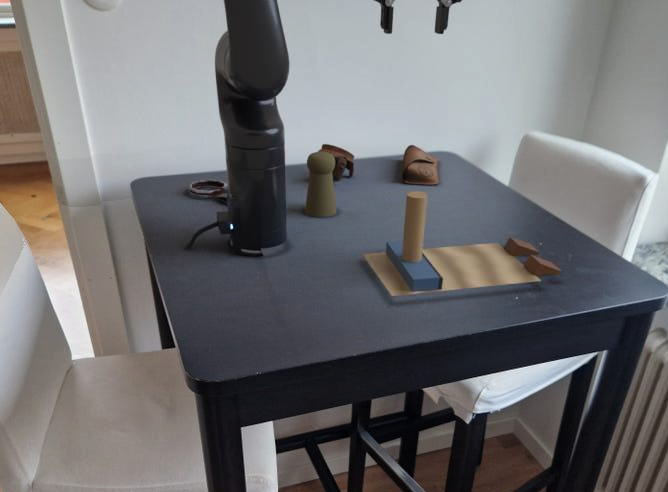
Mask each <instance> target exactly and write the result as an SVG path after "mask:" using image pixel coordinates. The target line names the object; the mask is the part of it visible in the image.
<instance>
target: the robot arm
mask: <svg viewBox="0 0 668 492" xmlns="http://www.w3.org/2000/svg"><path fill="white" fill-rule="evenodd" d="M373 1H374V2H376V3H379V5H380V22H379V25H380V29H382V30H383V33H384V34H386V35H392V34H393V26H394V25H393V24H394V10H395V9H394V8H395V7H394V6H393V5H394V3H395V1H396V0H373ZM436 1H437V3H438V6H437V5H436V10H435V20H434V21H435V22H434V33H435V34H438V35H443V34H444V32H445V31H446V30H447V29H448V25H449V15H450V8H451V6H452V5H455V4H457V3H461V2H462V1H463V0H436ZM223 4H224V12H225V19H226V31H225V32H223V34H222V35H221V36H220V38H219V40H218V41H217V44H216V48H215V53H214V73H215V84H216V85H215V86H216V95H217V96H216V97H217V104H218V105H217V106H218V113H219V114H218V115H219V120H220V123H221V126H222V130H223V137H224V139H223V140H224V150H225V151H224V152H225V166H226V167H225V168H226V179H227V180H226V181H227V182H226V184H227V187H226V192H227V206H226V207H227V210H226V211H225V210H224V211H216V221H215V222H212V223H211V224H207V225H205V226H203V227H202V228H200V229H198V230H197V231H196V232H195V233H194V234H193V235H192V237H191V239H190V240H189V242H188V243H186V249H190V248H191V247H193V246H194V244H195V242H196V240H197V238H198V237H199V236H200V235H202V234H204V233H205V232H207V231H210V230H211V229H215V228H217V229H218V232H219V235H221V236H223V235H228V236H229V242H230V247H231V249H232V252H233V254H234V255H246V256H252V257H264V253H263V251H262V249H271V248H275V247H278V246H280V245H283V244H284V243H286V241H287V239H288V231H287V229H288V227H287V190H286V189H287V188H286V187H287V186H286V183H287V182H286V181H287V180H286V149H285V148H286V143H285V142H286V138H285V131H286V130H285V124H284V122H283V120H282V117H281V115H280V112H279V109H278V103H277V96H279V95H280V94H281V92H282V91H283V90H284V88H285V86H286V84H287V82H288V80H289V75H290V67H291V66H290V62H291V61H290V55H289V51H288V50H289V49H288V45H287V41H286V40H287V39H286V36H285V30H284V27H283V23H282V17H281V13H280V8H279V4H278V0H223Z"/></svg>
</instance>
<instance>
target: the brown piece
mask: <svg viewBox="0 0 668 492" xmlns="http://www.w3.org/2000/svg"><path fill="white" fill-rule="evenodd" d="M317 152H327V153H330V154H332V155H333V157H334V158H335V167H334V170H333V171H332V176H333V183H335V182H341V180H342V178H343V175H344V172H345V170H348V177H349V178H351V177H353V176H354V173H355V166H354V165H355V163H354V159H355V155H354V154H353V153H351V152H350V151H348V150H346V149H344V148H342V147H340V146H336V145H333V144H328V143H323V144H321V148H320V149H318V150H317ZM309 175H310V171H309V170H308V176H309Z"/></svg>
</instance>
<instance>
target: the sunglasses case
mask: <svg viewBox="0 0 668 492" xmlns="http://www.w3.org/2000/svg"><path fill="white" fill-rule="evenodd" d="M402 159H403V160H402V167H401V179H402V180H403V182H404V184H407V185H408V184H410V185H415V186H435V185H439V184H440V178H439V170H438V169H439V162H440V159H439V158H437V157H436V156H433V155H431V154H429V153H427V152H426V151H425V150H424V149H422V148H420V147H418V146H416V145H414V144H410V145H408V146H407V147H406V148H405V150H404V153H403V158H402Z"/></svg>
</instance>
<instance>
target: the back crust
mask: <svg viewBox="0 0 668 492" xmlns="http://www.w3.org/2000/svg"><path fill="white" fill-rule="evenodd" d="M503 248H504V249H505V250H506V251H508V252H509V253H510V254H511V255H512V256H513V257H521V256H530V255H533V256H537V255H540V250H538V249H537V248H536V247H535V246H533V244H531V243H530V242H526V241H523V240H520V239H517V238H514V237H511V236H509V237H508V239H507V241H506V242H505V245H504V247H503Z"/></svg>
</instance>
